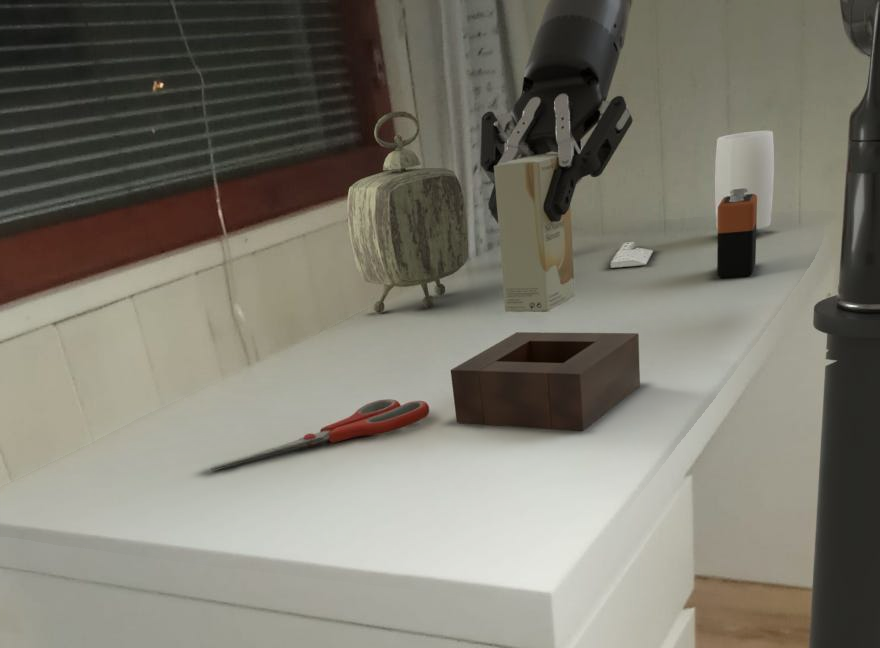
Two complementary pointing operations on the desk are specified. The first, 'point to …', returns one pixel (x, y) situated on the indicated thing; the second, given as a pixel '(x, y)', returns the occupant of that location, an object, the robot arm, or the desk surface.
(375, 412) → the scissors
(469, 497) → the desk surface
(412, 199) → the tabletop clock
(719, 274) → the battery
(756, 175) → the cup
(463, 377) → the holder
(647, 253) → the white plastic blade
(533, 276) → the cosmetic box
